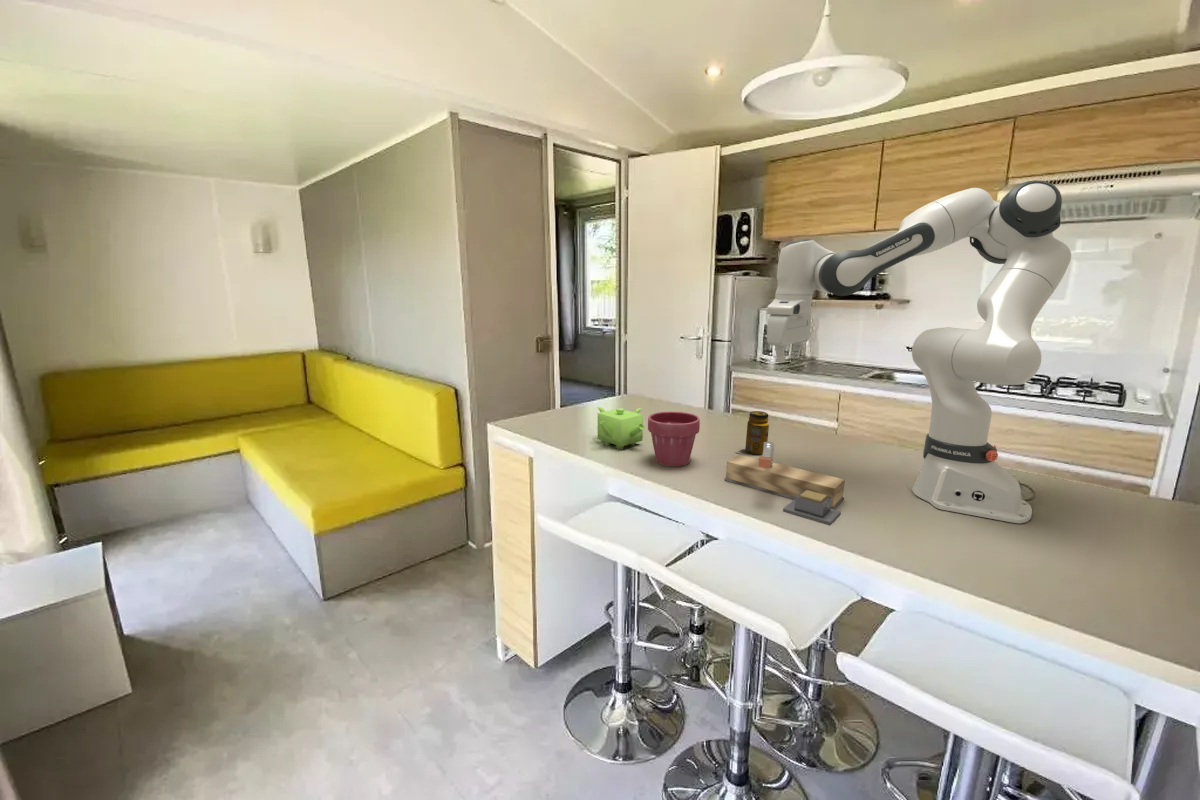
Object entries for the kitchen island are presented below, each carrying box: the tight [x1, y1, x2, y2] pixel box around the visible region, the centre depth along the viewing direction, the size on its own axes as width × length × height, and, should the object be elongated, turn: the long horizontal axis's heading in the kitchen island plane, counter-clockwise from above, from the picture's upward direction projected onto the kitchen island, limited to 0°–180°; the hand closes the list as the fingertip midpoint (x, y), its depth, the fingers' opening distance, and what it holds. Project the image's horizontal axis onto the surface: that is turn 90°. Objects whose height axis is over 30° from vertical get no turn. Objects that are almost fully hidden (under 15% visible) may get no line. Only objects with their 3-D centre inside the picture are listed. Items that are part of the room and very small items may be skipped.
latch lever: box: [758, 441, 775, 468], centre depth 121 cm, size 14×2×6 cm, turn 158°
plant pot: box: [647, 411, 701, 467], centre depth 143 cm, size 14×14×13 cm
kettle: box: [597, 406, 645, 450], centre depth 159 cm, size 15×14×11 cm
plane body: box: [724, 454, 845, 510], centre depth 125 cm, size 26×7×5 cm, turn 49°
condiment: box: [735, 410, 770, 459], centre depth 151 cm, size 7×8×12 cm
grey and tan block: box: [794, 490, 832, 518], centre depth 113 cm, size 6×5×4 cm
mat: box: [782, 499, 842, 526], centre depth 113 cm, size 10×7×1 cm
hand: (787, 360), depth 135 cm, fingers open, 8 cm apart
